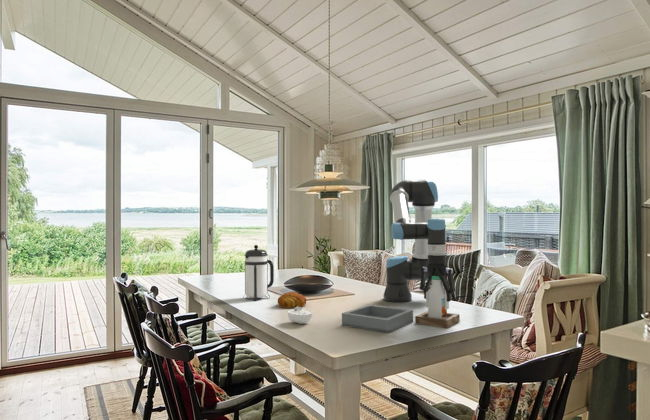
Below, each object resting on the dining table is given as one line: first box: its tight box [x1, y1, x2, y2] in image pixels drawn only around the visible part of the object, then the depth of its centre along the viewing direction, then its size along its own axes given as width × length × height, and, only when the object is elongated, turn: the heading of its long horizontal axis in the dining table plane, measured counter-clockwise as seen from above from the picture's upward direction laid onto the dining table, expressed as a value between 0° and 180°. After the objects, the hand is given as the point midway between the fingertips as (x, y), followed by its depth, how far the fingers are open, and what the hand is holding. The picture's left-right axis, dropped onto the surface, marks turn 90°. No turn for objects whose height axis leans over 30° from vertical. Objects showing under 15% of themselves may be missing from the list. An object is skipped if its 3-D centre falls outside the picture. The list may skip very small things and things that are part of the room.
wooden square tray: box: [414, 310, 461, 329], centre depth 192 cm, size 14×14×3 cm
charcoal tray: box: [341, 304, 414, 334], centre depth 191 cm, size 22×22×5 cm
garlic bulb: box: [286, 307, 313, 325], centre depth 194 cm, size 10×12×7 cm
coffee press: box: [242, 244, 275, 302], centre depth 253 cm, size 17×16×30 cm
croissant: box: [277, 291, 307, 309], centre depth 231 cm, size 14×16×8 cm
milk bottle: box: [427, 276, 448, 319], centre depth 192 cm, size 8×8×20 cm
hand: (437, 307), depth 192 cm, fingers closed on milk bottle, 8 cm apart
